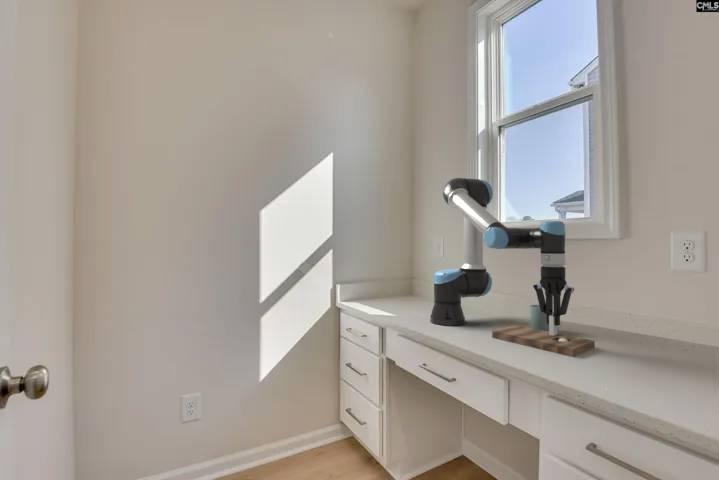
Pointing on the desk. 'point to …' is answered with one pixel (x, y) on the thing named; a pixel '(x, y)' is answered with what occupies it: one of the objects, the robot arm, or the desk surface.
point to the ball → (563, 340)
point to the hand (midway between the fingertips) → (553, 334)
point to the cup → (538, 318)
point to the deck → (544, 340)
